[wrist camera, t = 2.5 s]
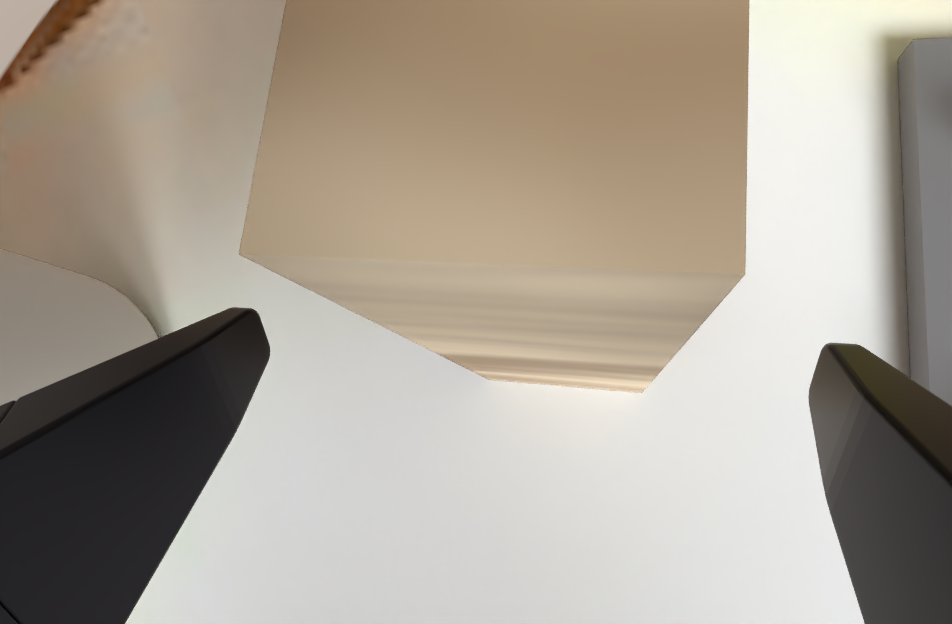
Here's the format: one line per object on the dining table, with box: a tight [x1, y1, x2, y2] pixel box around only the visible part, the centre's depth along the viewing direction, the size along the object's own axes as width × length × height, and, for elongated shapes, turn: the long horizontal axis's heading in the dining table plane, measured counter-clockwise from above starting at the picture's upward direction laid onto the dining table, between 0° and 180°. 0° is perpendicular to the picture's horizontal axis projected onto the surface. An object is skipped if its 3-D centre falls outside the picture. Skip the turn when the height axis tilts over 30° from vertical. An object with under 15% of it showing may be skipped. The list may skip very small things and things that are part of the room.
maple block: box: [239, 0, 749, 393], centre depth 13 cm, size 5×5×14 cm
